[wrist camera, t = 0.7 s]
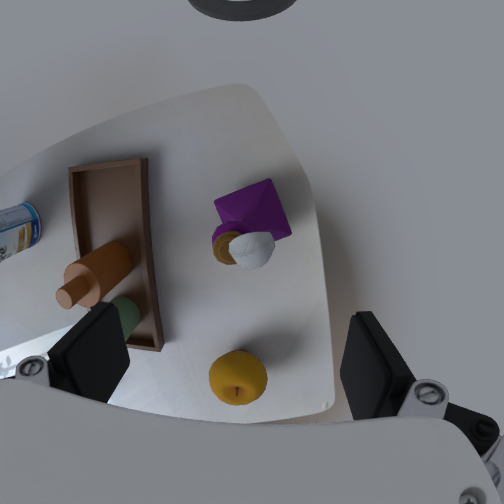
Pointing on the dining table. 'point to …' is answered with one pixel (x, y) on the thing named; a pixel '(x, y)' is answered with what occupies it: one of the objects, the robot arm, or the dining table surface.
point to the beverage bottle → (18, 229)
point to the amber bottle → (94, 275)
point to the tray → (120, 234)
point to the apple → (238, 378)
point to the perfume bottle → (249, 225)
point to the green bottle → (127, 314)
